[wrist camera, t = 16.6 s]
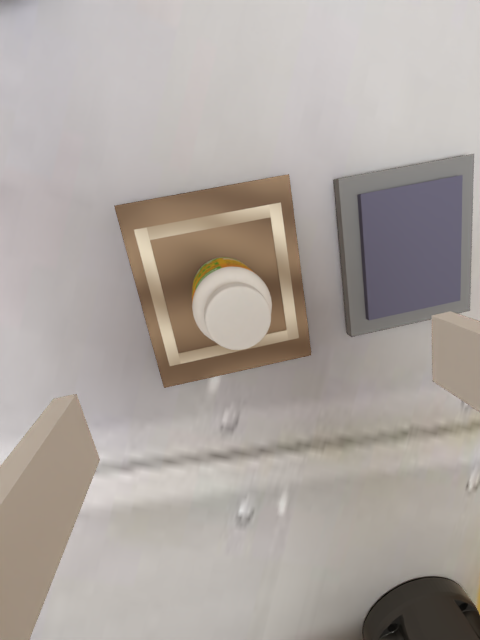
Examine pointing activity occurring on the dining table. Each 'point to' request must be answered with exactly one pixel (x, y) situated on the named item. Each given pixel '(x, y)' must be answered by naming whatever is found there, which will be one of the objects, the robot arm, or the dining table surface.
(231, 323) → the supplement bottle
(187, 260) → the marking board
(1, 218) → the dining table surface
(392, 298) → the ink pad
